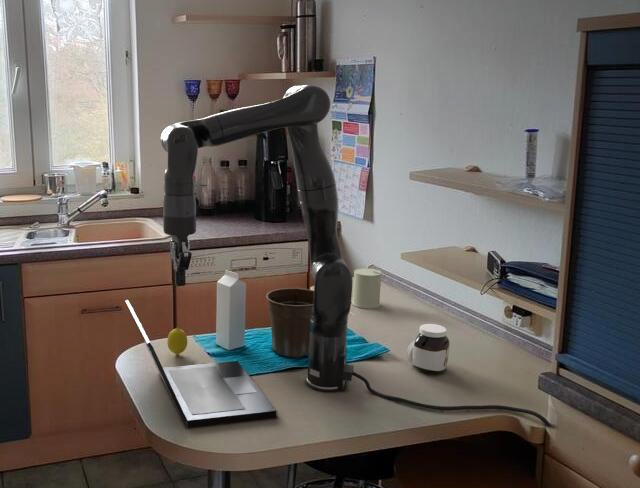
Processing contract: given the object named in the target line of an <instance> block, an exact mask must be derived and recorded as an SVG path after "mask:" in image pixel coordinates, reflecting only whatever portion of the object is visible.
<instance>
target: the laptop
mask: <svg viewBox="0 0 640 488" xmlns="http://www.w3.org/2000/svg"><path fill="white" fill-rule="evenodd" d="M163 370H164V372H165V374H166V376H167V378H168V380H169V382H170V384H171V387H172V389H173V391H174V393H175V395H176V397H177V399H178V402H179V404H180V406H181V408H182V410H183V413H184V415H185V417H186V419H187V421H186V422H184V424H185V426H186V427H187V429H191V428H200V427H206V426H207V427H208V426H216V425H217V426H218V425H226V424H234V423H243V422H252V421H261V420H268V419H277V412H278V411H277V408H275V407H274V405H273V404H272V403H271V401H269V399H268V398H267V396H266V395H265V394H264V393H263V391H262V390H261V389H260V387H258V385H257V383H256V382H255V381H254V380H253V379H252V378H251V376H250V375H249V373H247V371H246V370H245V369H244V367H243V366H242V365H241V363H240V362H239V361H238V360H232V361H221V362H211V363H209V362H208V363H199V364H190V365H179V366H168V367H166V366H165V367H163Z"/></svg>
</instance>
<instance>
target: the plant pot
mask: <svg viewBox="0 0 640 488" xmlns="http://www.w3.org/2000/svg"><path fill="white" fill-rule="evenodd" d="M265 299H266V300H267V306H268V311H269V319H270V331H271V343H272V352H276V354H277V355H279V356H282V357H285V358H302V357H303V356H306V357H308V356H309V334H310V313H311V308H312V307H313V300H314V289H308V288H302V287H301V288H300V287H285V288H283V287H282V288H277V289H274V290H271V291H269V292H267V293H266V295H265Z"/></svg>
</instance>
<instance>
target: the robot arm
mask: <svg viewBox="0 0 640 488" xmlns="http://www.w3.org/2000/svg"><path fill="white" fill-rule="evenodd" d="M330 109H331V99H330V96H329V94H328V93H327V91H326V89H323V88H322V87H320V86H318V85H314V84H300V85H294V86H291V87H290V88H288V89H287V90H286V92H285V93H284V94H283V97H282V98H280V99H277V100H273V101H270V102H266V103H261V104H257V105H251V106H244V107H239V108H235V109H230V110H226V111H223V112H219V113H216V114H212V115H209V116H206V117H204V118H198V119H193V120H192V119H191V120H186V121H181V122H176V123H172V124H171V125H168V126H167V127H166V128H164V130H163V131H162V132H161V135H160V143H161V147H162V148H163V150H164V151H165V152H166V153H167V168H166V169H165V171H164V174H163V201H162V206H163V207H162V216H163V217H162V218H163V219H162V221H163V223H162V224H163V225H162V226H163V233H164V234H165V235H168V236H171V239H170V240H169V241H168V247H169V252H170V258H171V265H173V270H174V284H175V286H176V287H185V286H186V282H187V281H186V279H187V278H186V271H189V268H190V265H191V259H192V255H193V252H191V251H190V250H191V242H190V241H189V238H188V237H189V236H190V235H194V234H195V233H196V232H197V200H196V178H195V176H196V175H195V172H196V168H197V162H198V152H199V149H201V148H206V147H219V146H223V145H226V144H230V143H233V142H236V141H240V140H243V139H247V138H250V137H254V136H257V135H260V134H263V133H266V132H269V131H273V130H278V129H283V128H286V130H287V135H288V137H289V142H290V147H291V153H292V160H293V168H294V174H295V180H296V188H297V195H298V196H297V197H298V200H299V201H298V202H299V206H300V211H301V217H302V221H303V224H304V227H305V231H306V235H307V240H308V241H307V242H308V252H309V273H310V274H309V275H310V278H311V281H312V283H313V291H314V300H313V307H312V308H311V313H310V334H309V356H307V357H308V358H307V359H308V360H307V377H306V384H307V385H308V386H309V387H310V388H312V389H314V390H317V391H322V392H335V391H336V392H337V391H343V390H344V387H345V383H346V382H352V379H353V377H355V378H357V379H359V380H361V381H362V382H363V383H364V384H365V387H366V389H367V390H368V391H369V392H370V393H371V394H372V395H375V396H378V397H380V398H383V399H386V400H389V401H394V402H395V401H396V402H400V403H404V404H407V405H411V406H415V407H418V408H422V409H428V410H434V411H435V410H436V411H465V410H472V411H473V410H476V411H477V410H480V411H481V410H504V411H511V412H516V413H522V414H527V415H531V416H534V417H536V418H537V419H539V420H540V421H541V422H542V423H543V424H544V425H545V426H546V427H549V428H550V427H552V424H551V423H550V421H549V420H548V419H547V418H546V417H544V416H543V415H541V414H540V413H538V412H536V411H534V410H531V409H526V408H519V407H513V406H507V405H499V404H497V405H496V404H488V405H487V404H486V405H485V404H483V405H451V406H449V405H448V406H446V405H445V406H443V405H433V404H426V403H422V402H418V401H414V400H410V399H406V398H403V397H399V396H394V395H387V394H383V393H380V392H378V391H376V390H374V389H373V388H372V386H371V384H370V382H369V381H368V379H367V378H366V377H364V376H363V375H361V374H359V373H357V372H355V371H354V367H355V365H354V364H349V363H347V356H348V355H347V354H348V347H347V340H348V339H347V337H348V322H349V321H348V320H349V314H350V311H351V306H352V298H353V284H354V279H353V273H352V271H351V269H350V267H349V266H348V264H346V262H345V260H344V258H343V255H342V254H343V253H342V250H341V247H340V241H339V236H338V222H339V221H338V220H339V195H338V189H337V183H336V182H337V181H336V177H335V173H334V171H333V169H332V165H331V163H330V161H329V159H328V157H327V155H326V153H325V151H324V149H323V146H322V143H321V140H320V135H319V126H318V125H319V124H318V123H320V122H322V121H324V119H325V118H327V116H328V114H329V112H330Z"/></svg>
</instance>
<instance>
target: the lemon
mask: <svg viewBox="0 0 640 488" xmlns="http://www.w3.org/2000/svg"><path fill="white" fill-rule="evenodd" d="M166 341H167V348H168V350H169V351H170V352H171V353H173V354H175V355H176V356H179V355H180V354H182V353H183V352H185V350H186V349H187V346H188V336H187V333H186V332H185V331H184V330H183V329H182V328H179V327H176V328H173V329H172V330H171V331H170V332H169V333H168V336H167V340H166Z"/></svg>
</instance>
